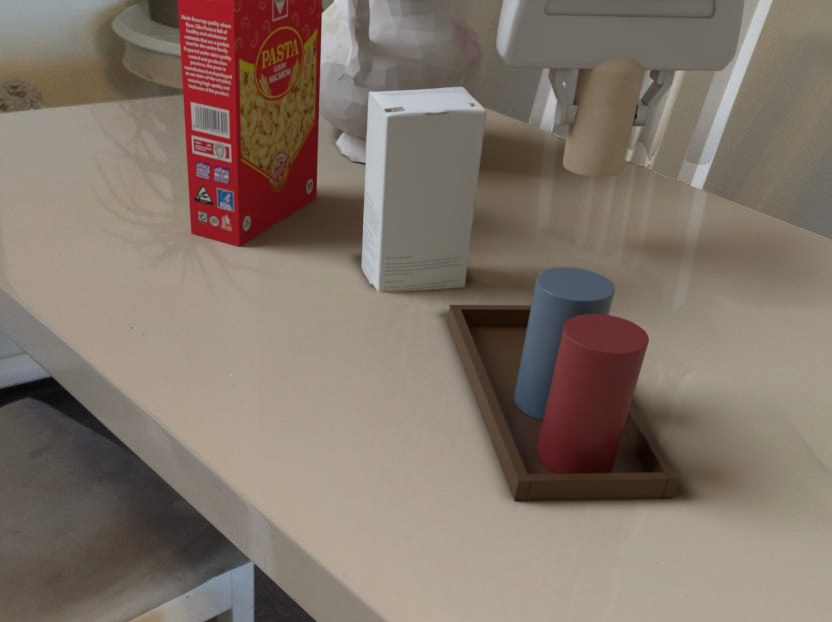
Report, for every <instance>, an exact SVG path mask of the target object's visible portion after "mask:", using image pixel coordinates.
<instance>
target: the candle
mask: <svg viewBox="0 0 832 622" xmlns="http://www.w3.org/2000/svg"><path fill="white" fill-rule="evenodd" d="M645 71H646V70H644V69H643V67H642V66H641V65H640V64H639V63H638V62H636V61H635V60H634V59H632V58H630V57H627V56H621V57H616V58H613V59H610V60H607V61H605V62H603V63H601V64H599V65H597V66H596V67H594V68H593V69H578V72H577V79H576V82H575V83H576V84H575V89H574V93H573V100H574V102H575V103H576V104H578V111H577V114H576V115H575V118H576V122H575V125H573V126H568V129H567V134H566V141H565V144H564V145H565V146H564V151H563V158H562V166H563V168H565V169H566V170H567V171H569V172H571V173H574V174H577V175H581V176H585V177H590V178H591V177H592V178H608V177H615V176H618V175H619V174H622V172H623V169H624V167H625V162H626V157H627V154H628V150H629V149H628V148H629V144H630V140H631V136H632V130H633V127H634V126H633V121H634V117H635V112H636V108H637V103H638V100H640V93H641V89H642V85H643V79H644V74H645Z"/></svg>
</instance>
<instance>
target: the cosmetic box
mask: <svg viewBox="0 0 832 622" xmlns="http://www.w3.org/2000/svg"><path fill="white" fill-rule="evenodd" d="M487 114H488V111H487V109H486V108H484V107H483V105H482V104H480V102H479V101H478V100H476V98H475V99H474V98H473V97H472V96H471V95H470V94H469V93H468V92H467V90H466V89H464V88H463V87H450V88H436V89H421V90H402V91H381V92H369V99H368V121H367V139H366V163H365V171H364V173H365V174H364V176H365V178H364V196H363V197H364V199H363V217H362V218H363V219H362V221H363V224H362V244H361V245H362V248H361V271H362V272H363V274H364V275H365V277H366V280H367V281H368V282H369V284H370V285H373V286H374V289H376V291H377V292H378V293H397V292H398V293H399V292H400V293H401V292H415V291H416V292H417V291H431V290H433V291H434V290H442V289H455V288H465V287H466V281H467V280H466V279H467V274H468V273H467V272H468V264H469V256H470V248H471V247H470V246H471V239H472V230H473V224H474V223H473V222H474V215H475V204H476V199H477V190H478V184H479V175H480V167H481V159H482V150H483V144H484V143H483V142H484V134H485V127H486V121H487V120H486V119H487Z"/></svg>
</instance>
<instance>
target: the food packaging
mask: <svg viewBox="0 0 832 622" xmlns="http://www.w3.org/2000/svg"><path fill="white" fill-rule="evenodd" d="M177 10H178V28H179V45H180V48H179V49H180V62H181V63H180V65H181V80H182V81H181V82H182V95H183V96H182V97H183V98H182V99H183V113H184V133H185V134H184V135H185V148H186V150H185V151H186V165H187V168H186V170H187V186H188V201H189V202H188V203H189V220H190V233H191V234H193V235H196V236H199V237H203V238H207V239H212V240H214V241H218V242H222V243H225V244H228V245H233V246H236V247H241V246H242V245H245V244H246V243H247V242H249V241H250V240H252V239H253V238H256V237H257V236H258V235H260V234H262V233H263V232H265V231H266V230H268V229H270V228H272V227H273V226H274V225H276V224H278V223H279V222H281V221H283V220H284V219H286V218H287V217H289V216H290V215H292V214H294V213H295V212H297V211H298V210H300V209H302V208H303V207H305V206H306V205H308V204H310V203H311V202H313V201H314V200H316V199H317V198H318V197H317V192H318V166H319V165H318V163H319V162H318V161H319V159H318V158H319V127H320V112H319V98H320V64H321V31H322V13H323V0H177Z"/></svg>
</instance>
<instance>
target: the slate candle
mask: <svg viewBox="0 0 832 622" xmlns="http://www.w3.org/2000/svg"><path fill="white" fill-rule="evenodd" d="M615 291H616V288H615V285H614V283H613V282H612V281H611V280H610V279H609V278H607V277H606V276H604V275H602V274H600V273H598V272H594V271H592V270H588V269H584V268H579V267H571V266H570V267H567V266H563V267H562V266H561V267H552V268H548V269H544V270H543V271H541V272H540V273H539V274H538V275H537V277H536V280H535V284H534V290H533V294H532V295H533V296H532V301H531V304H530V305H531V310H530V316H529V321H528V326H527V331H526V336H525V342H524V347H523V352H522V357H521V363H520V368H519V373H518V378H517V383H516V389H515V394H514V402H515V405H516V406H517V408H518V409H519V410H520V411H522V412H523V413H525V414H526V415H528V416H530V417H533V418H536V419H539V420H543V419H544V415H545V410H546V406H547V401H548V396H549V392H550V387H551V383H552V378H553V374H554V369H555V364H556V360H557V355H558V351H559V346H560V342H561V337H562V333H563V328H564V325H565V323H566V322H567V321H568V320H569V319H571V318H573V317H575V316H579V315H584V314H605V315H610V312H611V308H612V304H613V300H614V295H615V293H616V292H615Z"/></svg>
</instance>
